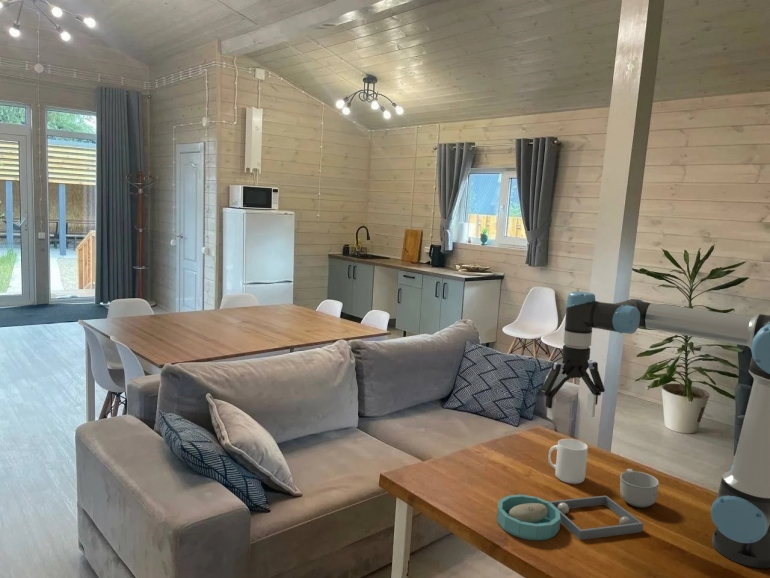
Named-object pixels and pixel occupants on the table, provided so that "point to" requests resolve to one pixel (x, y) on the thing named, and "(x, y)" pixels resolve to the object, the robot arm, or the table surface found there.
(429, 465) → the table surface
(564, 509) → the white round ball
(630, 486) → the teacup
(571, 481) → the mug
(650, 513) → the table surface
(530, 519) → the stone
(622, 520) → the pebble
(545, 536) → the bowl
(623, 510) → the tray
